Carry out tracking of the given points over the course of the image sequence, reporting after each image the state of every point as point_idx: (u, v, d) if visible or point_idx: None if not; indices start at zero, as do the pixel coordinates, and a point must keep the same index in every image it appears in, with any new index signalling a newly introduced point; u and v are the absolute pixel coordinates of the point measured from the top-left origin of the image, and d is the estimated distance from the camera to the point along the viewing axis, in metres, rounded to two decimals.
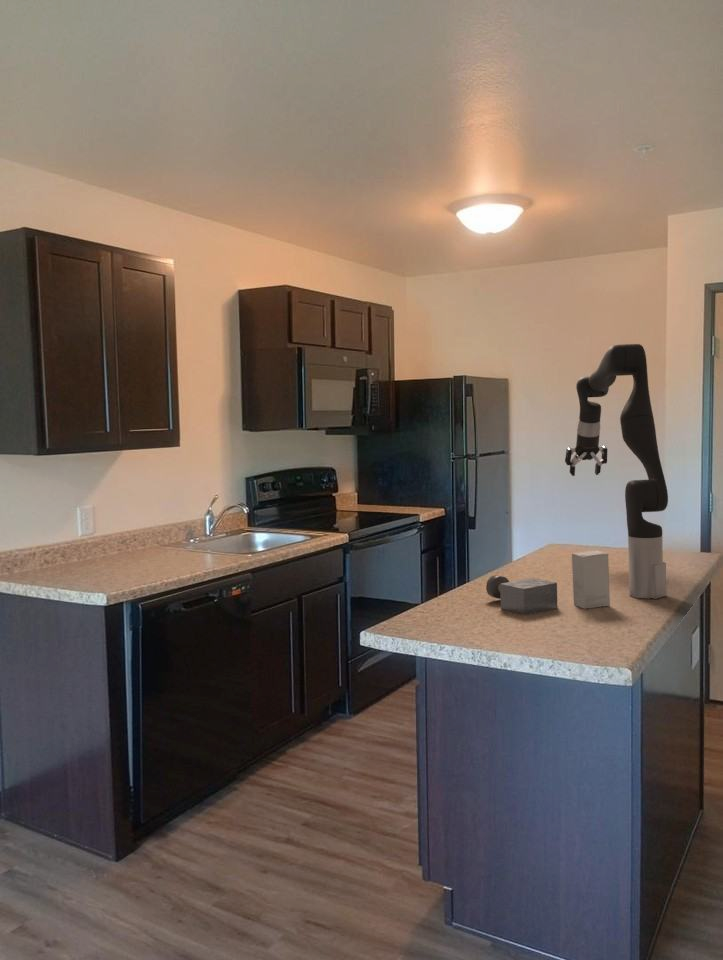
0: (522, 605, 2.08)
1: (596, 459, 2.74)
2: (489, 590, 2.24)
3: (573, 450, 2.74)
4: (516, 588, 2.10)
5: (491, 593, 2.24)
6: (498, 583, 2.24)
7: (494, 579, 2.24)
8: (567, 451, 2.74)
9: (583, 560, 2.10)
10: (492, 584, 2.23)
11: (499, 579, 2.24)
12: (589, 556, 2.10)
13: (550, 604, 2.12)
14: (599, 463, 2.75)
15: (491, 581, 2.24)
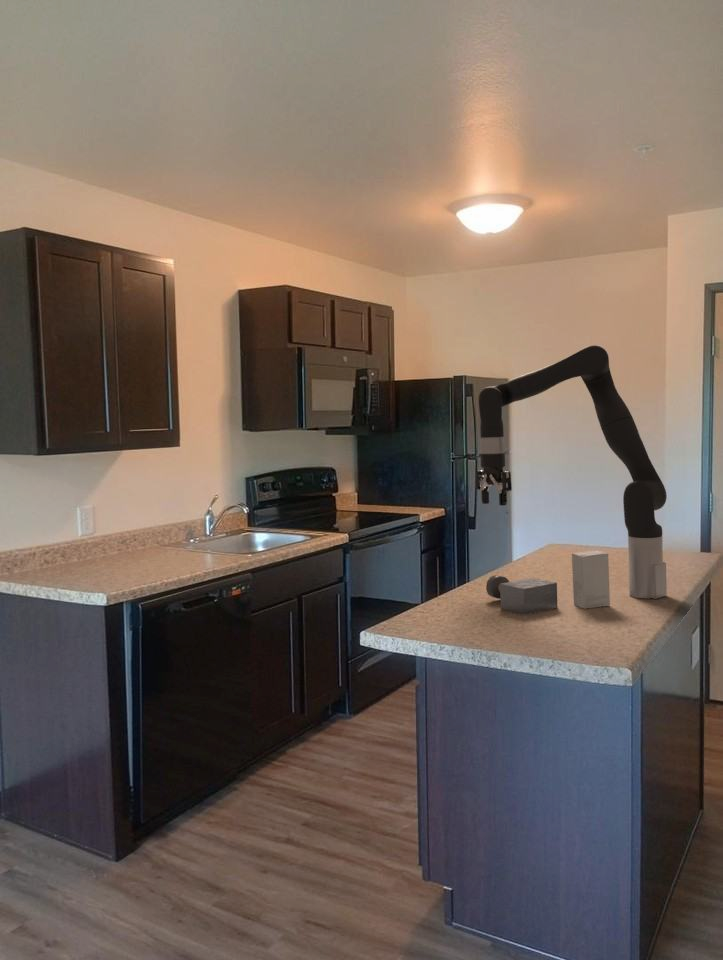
0: (522, 605, 2.08)
1: None
2: (489, 590, 2.24)
3: None
4: (516, 588, 2.10)
5: (491, 593, 2.24)
6: (498, 583, 2.24)
7: (494, 579, 2.24)
8: (507, 475, 2.35)
9: (583, 560, 2.10)
10: (492, 584, 2.23)
11: (499, 579, 2.24)
12: (589, 556, 2.10)
13: (550, 604, 2.12)
14: None
15: (491, 581, 2.24)
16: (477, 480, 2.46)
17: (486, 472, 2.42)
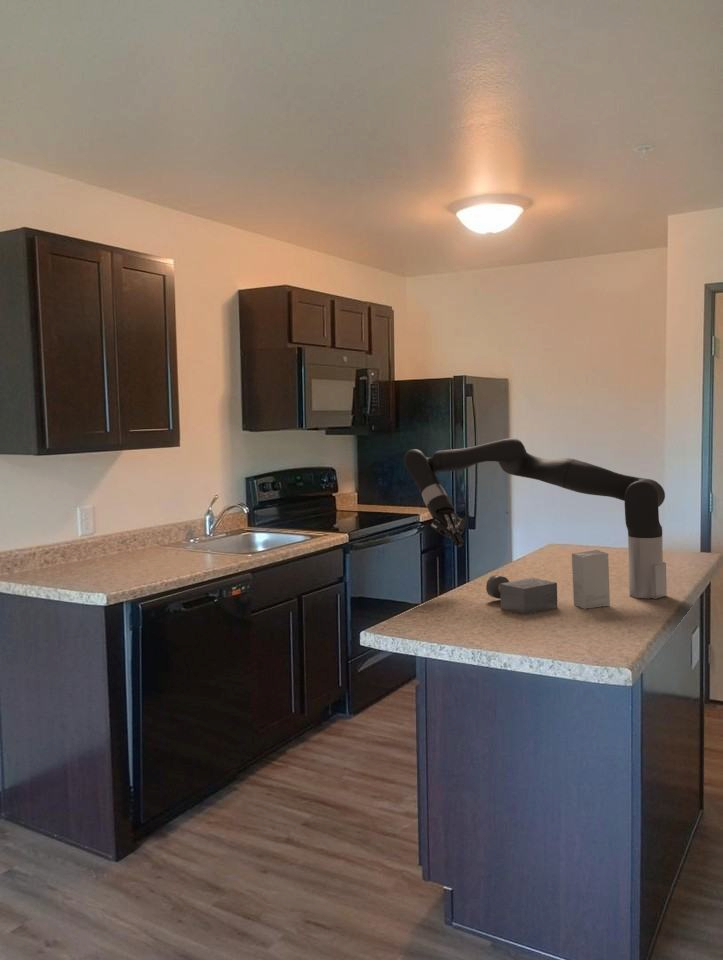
0: (522, 605, 2.08)
1: None
2: (489, 590, 2.24)
3: None
4: (516, 588, 2.10)
5: (491, 593, 2.24)
6: (498, 583, 2.24)
7: (494, 579, 2.24)
8: None
9: (583, 560, 2.10)
10: (492, 584, 2.23)
11: (499, 579, 2.24)
12: (589, 556, 2.10)
13: (550, 604, 2.12)
14: None
15: (491, 581, 2.24)
16: (442, 526, 2.39)
17: (442, 515, 2.43)
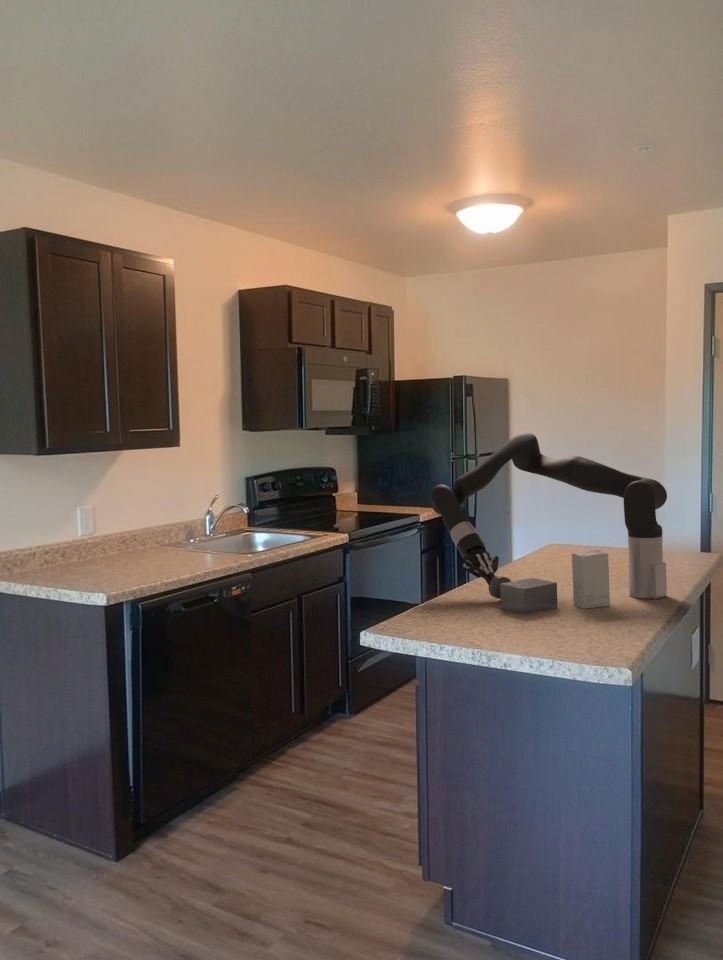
0: (522, 605, 2.08)
1: None
2: (491, 590, 2.23)
3: None
4: (516, 588, 2.10)
5: (493, 594, 2.23)
6: None
7: (497, 580, 2.23)
8: None
9: (583, 560, 2.10)
10: (494, 585, 2.22)
11: (501, 580, 2.23)
12: (589, 556, 2.10)
13: (550, 604, 2.12)
14: None
15: (493, 582, 2.23)
16: (475, 567, 2.27)
17: (473, 554, 2.31)
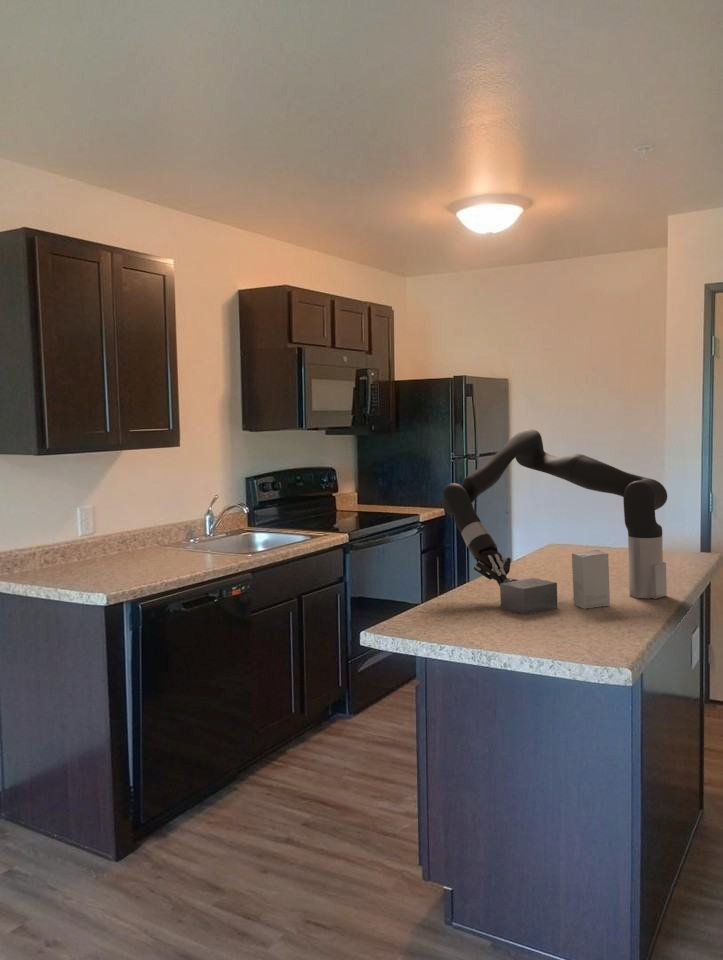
0: (522, 605, 2.08)
1: None
2: None
3: None
4: (516, 588, 2.10)
5: None
6: None
7: None
8: None
9: (583, 560, 2.10)
10: None
11: None
12: (589, 556, 2.10)
13: (550, 604, 2.12)
14: None
15: None
16: (486, 568, 2.23)
17: (485, 556, 2.26)
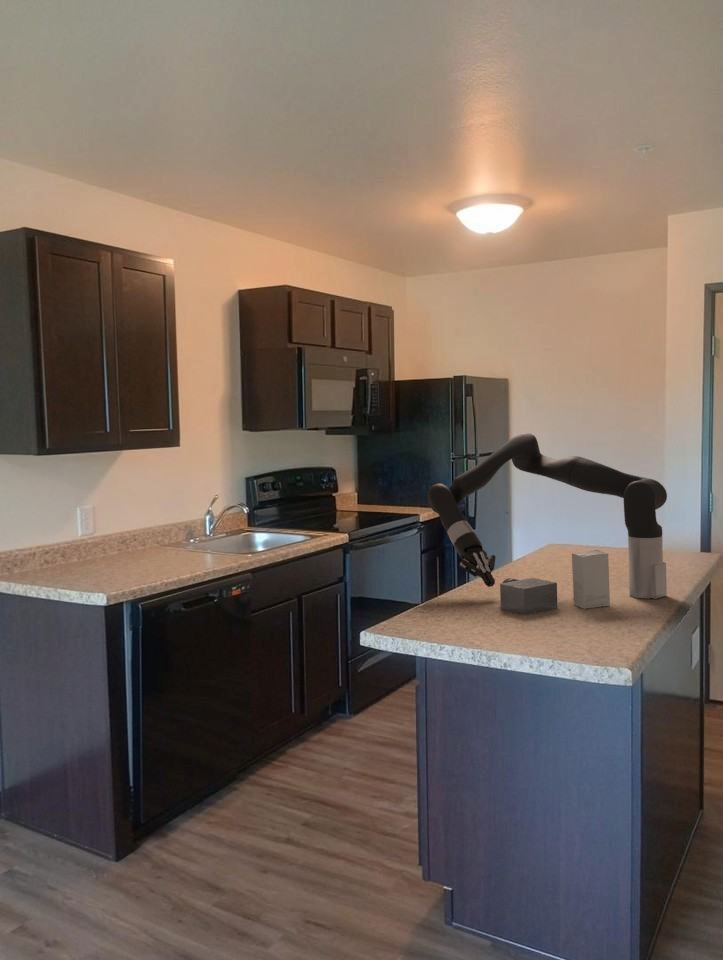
0: (522, 605, 2.08)
1: None
2: None
3: None
4: (516, 588, 2.10)
5: None
6: None
7: None
8: None
9: (583, 560, 2.10)
10: None
11: None
12: (589, 556, 2.10)
13: (550, 604, 2.12)
14: None
15: None
16: (471, 566, 2.29)
17: (470, 553, 2.32)
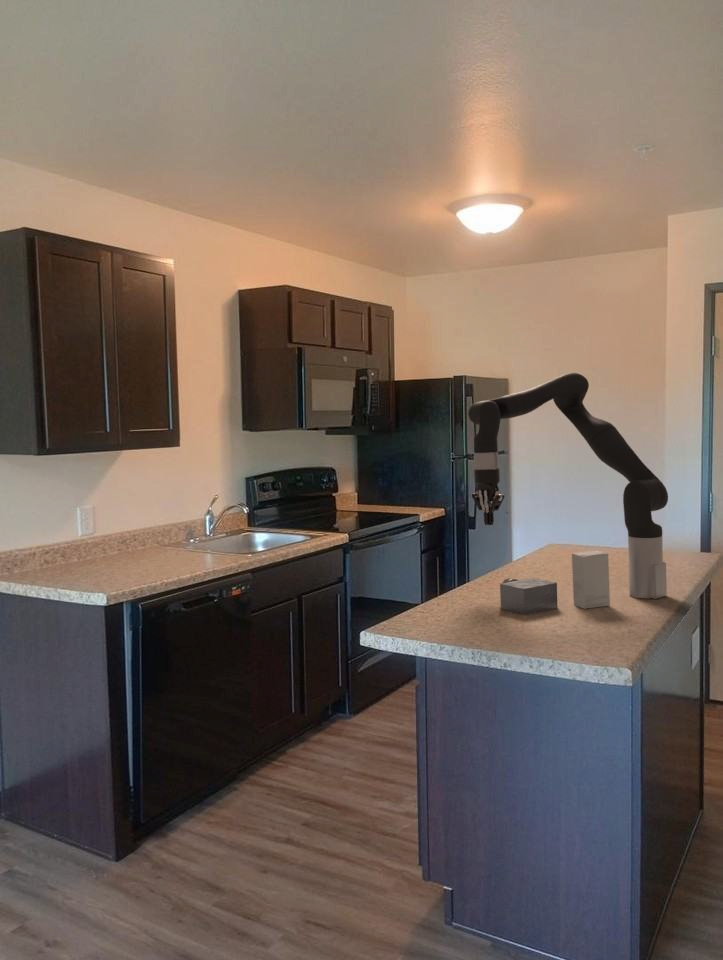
0: (522, 605, 2.08)
1: (485, 502, 2.34)
2: None
3: (476, 492, 2.39)
4: (516, 588, 2.10)
5: None
6: None
7: None
8: None
9: (583, 560, 2.10)
10: None
11: None
12: (589, 556, 2.10)
13: (550, 604, 2.12)
14: (486, 510, 2.35)
15: None
16: None
17: None
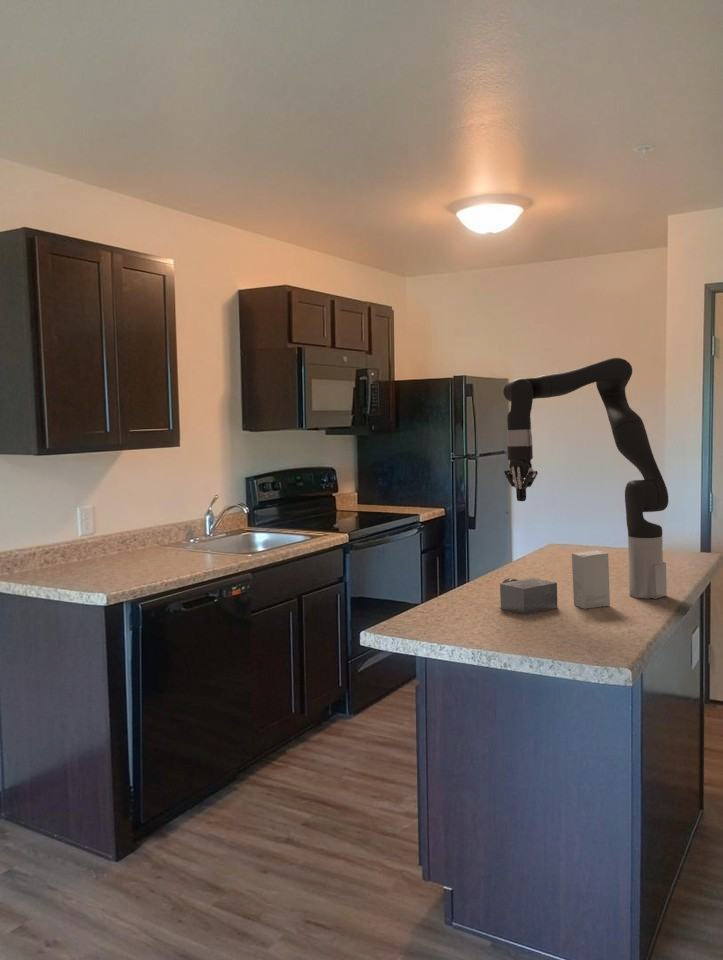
0: (522, 605, 2.08)
1: (518, 478, 2.38)
2: None
3: (509, 469, 2.43)
4: (516, 588, 2.10)
5: None
6: None
7: None
8: None
9: (583, 560, 2.10)
10: None
11: None
12: (589, 556, 2.10)
13: (550, 604, 2.12)
14: (519, 486, 2.39)
15: None
16: None
17: None
